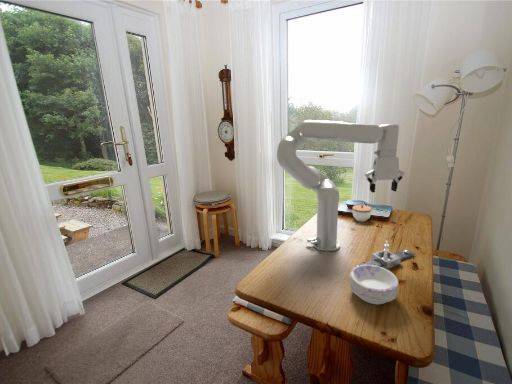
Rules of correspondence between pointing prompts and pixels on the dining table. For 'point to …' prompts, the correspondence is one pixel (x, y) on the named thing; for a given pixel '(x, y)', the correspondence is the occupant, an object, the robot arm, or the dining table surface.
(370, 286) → the paper bowls
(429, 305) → the dining table surface
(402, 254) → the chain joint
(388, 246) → the chess piece
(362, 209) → the lidded jar
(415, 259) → the dining table surface
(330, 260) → the dining table surface
